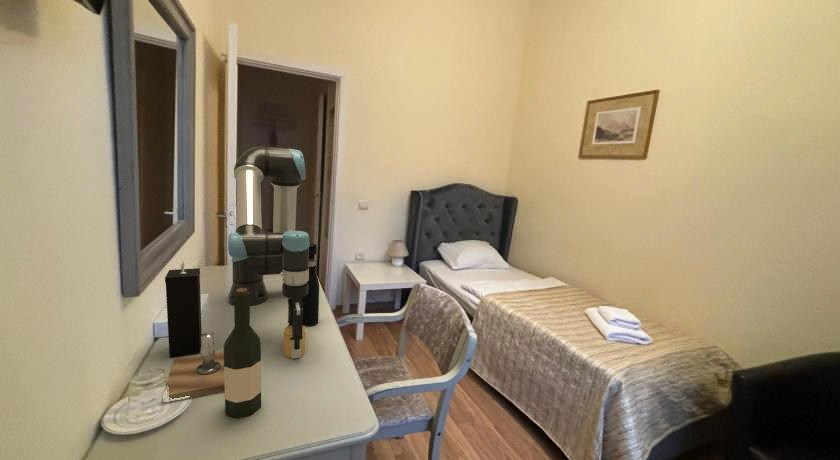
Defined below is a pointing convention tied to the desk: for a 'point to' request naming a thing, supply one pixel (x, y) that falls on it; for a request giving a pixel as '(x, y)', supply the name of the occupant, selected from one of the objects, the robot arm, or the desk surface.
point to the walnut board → (195, 377)
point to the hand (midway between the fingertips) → (294, 351)
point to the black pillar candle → (183, 311)
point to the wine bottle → (311, 292)
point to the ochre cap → (289, 342)
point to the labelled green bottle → (242, 362)
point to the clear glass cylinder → (208, 355)
